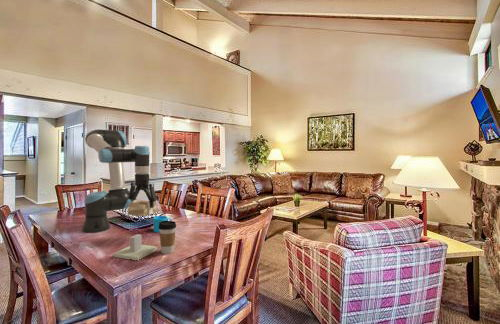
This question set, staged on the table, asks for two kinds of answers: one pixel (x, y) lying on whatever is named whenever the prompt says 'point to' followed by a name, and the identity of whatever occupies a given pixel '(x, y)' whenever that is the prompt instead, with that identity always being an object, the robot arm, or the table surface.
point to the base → (135, 254)
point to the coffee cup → (167, 236)
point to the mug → (156, 222)
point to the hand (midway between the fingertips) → (142, 212)
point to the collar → (140, 208)
